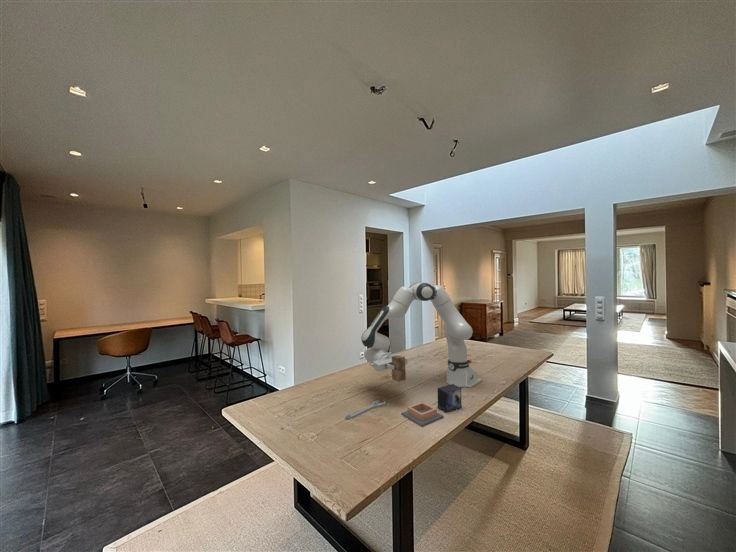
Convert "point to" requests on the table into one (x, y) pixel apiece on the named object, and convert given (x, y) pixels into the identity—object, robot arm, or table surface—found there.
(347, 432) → the table surface
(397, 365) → the walnut block
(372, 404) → the adjustable wrench
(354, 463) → the table surface
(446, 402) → the small box
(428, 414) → the dock
